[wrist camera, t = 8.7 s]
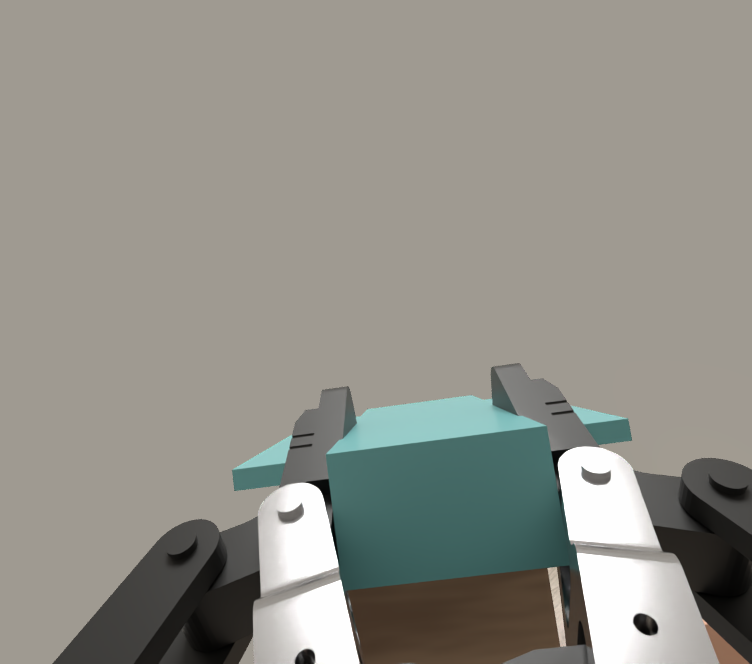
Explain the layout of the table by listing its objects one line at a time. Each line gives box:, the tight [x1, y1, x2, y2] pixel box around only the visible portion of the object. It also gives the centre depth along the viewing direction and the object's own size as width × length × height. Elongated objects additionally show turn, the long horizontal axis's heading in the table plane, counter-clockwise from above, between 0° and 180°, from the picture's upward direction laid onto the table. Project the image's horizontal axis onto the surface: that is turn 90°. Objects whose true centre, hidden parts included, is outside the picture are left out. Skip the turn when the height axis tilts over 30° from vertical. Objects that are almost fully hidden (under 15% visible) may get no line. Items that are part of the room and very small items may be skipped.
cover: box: [232, 395, 632, 591], centre depth 20 cm, size 24×15×2 cm, turn 177°
